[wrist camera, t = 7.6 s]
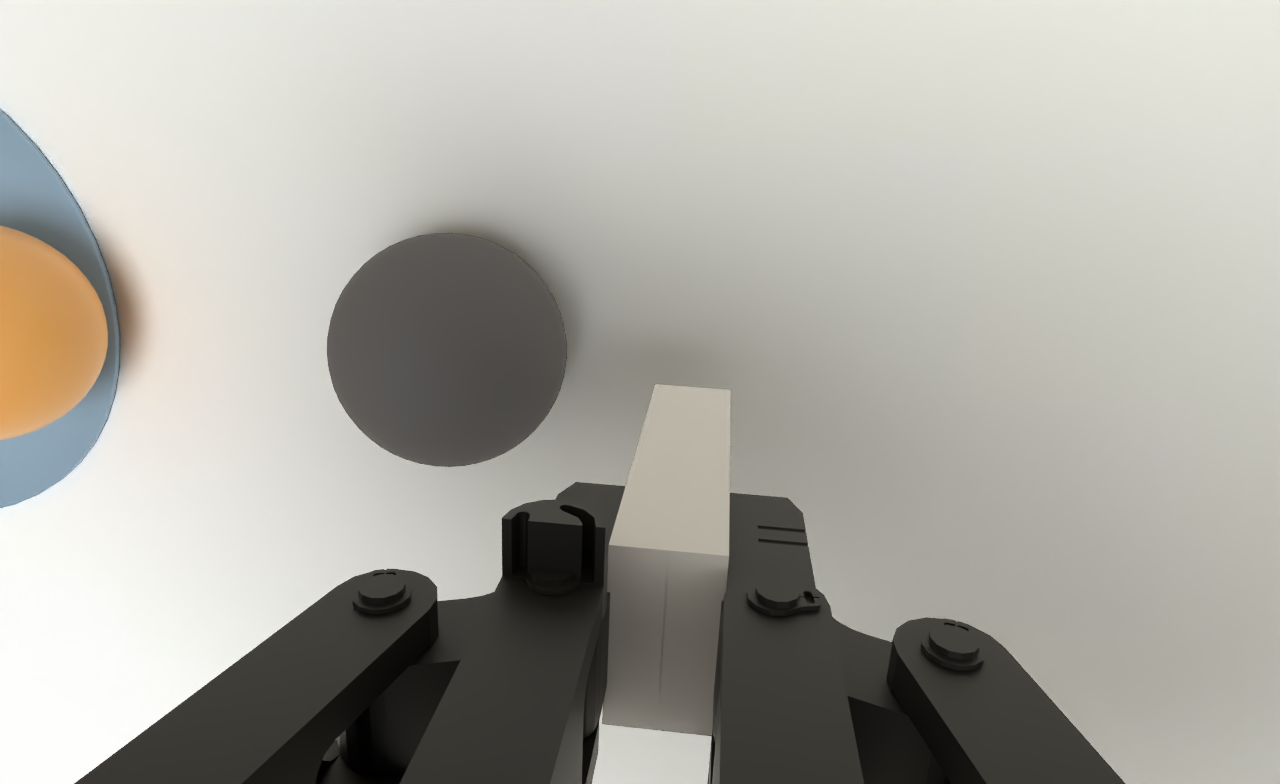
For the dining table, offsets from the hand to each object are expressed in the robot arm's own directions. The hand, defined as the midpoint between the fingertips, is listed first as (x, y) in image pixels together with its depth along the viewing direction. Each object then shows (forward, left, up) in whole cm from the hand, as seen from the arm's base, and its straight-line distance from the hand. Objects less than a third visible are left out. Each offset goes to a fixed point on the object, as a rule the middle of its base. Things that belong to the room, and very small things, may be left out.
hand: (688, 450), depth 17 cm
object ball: (+13, +12, -3) cm, 18 cm away
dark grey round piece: (+5, +4, -3) cm, 7 cm away
